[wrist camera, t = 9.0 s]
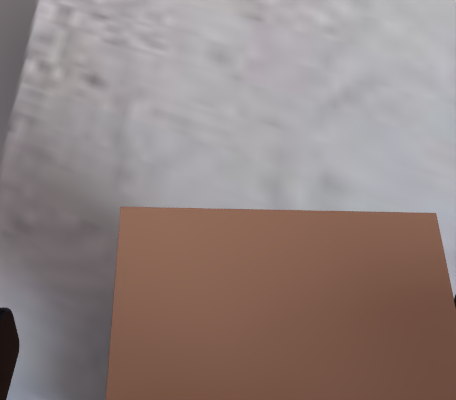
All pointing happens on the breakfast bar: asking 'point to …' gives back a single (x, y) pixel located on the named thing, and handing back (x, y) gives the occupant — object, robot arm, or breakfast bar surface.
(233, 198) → the breakfast bar surface
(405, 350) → the pillar
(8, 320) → the robot arm
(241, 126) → the breakfast bar surface
